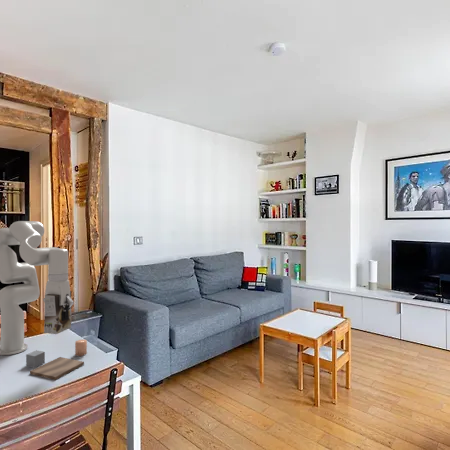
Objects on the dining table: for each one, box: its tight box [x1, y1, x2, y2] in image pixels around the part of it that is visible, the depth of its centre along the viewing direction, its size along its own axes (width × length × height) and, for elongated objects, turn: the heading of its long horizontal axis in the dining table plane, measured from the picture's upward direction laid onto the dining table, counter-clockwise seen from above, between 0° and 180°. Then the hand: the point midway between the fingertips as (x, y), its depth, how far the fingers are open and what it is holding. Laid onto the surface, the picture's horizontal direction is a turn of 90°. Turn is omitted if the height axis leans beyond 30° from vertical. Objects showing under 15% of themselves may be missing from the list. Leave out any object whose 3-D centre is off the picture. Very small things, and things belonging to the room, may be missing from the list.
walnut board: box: [29, 356, 85, 381], centre depth 137 cm, size 14×15×1 cm
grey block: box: [25, 349, 46, 369], centre depth 141 cm, size 5×5×5 cm
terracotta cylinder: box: [74, 339, 88, 357], centre depth 153 cm, size 5×5×6 cm
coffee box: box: [43, 290, 72, 335], centre depth 137 cm, size 9×6×16 cm
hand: (58, 318), depth 137 cm, fingers closed on coffee box, 7 cm apart
